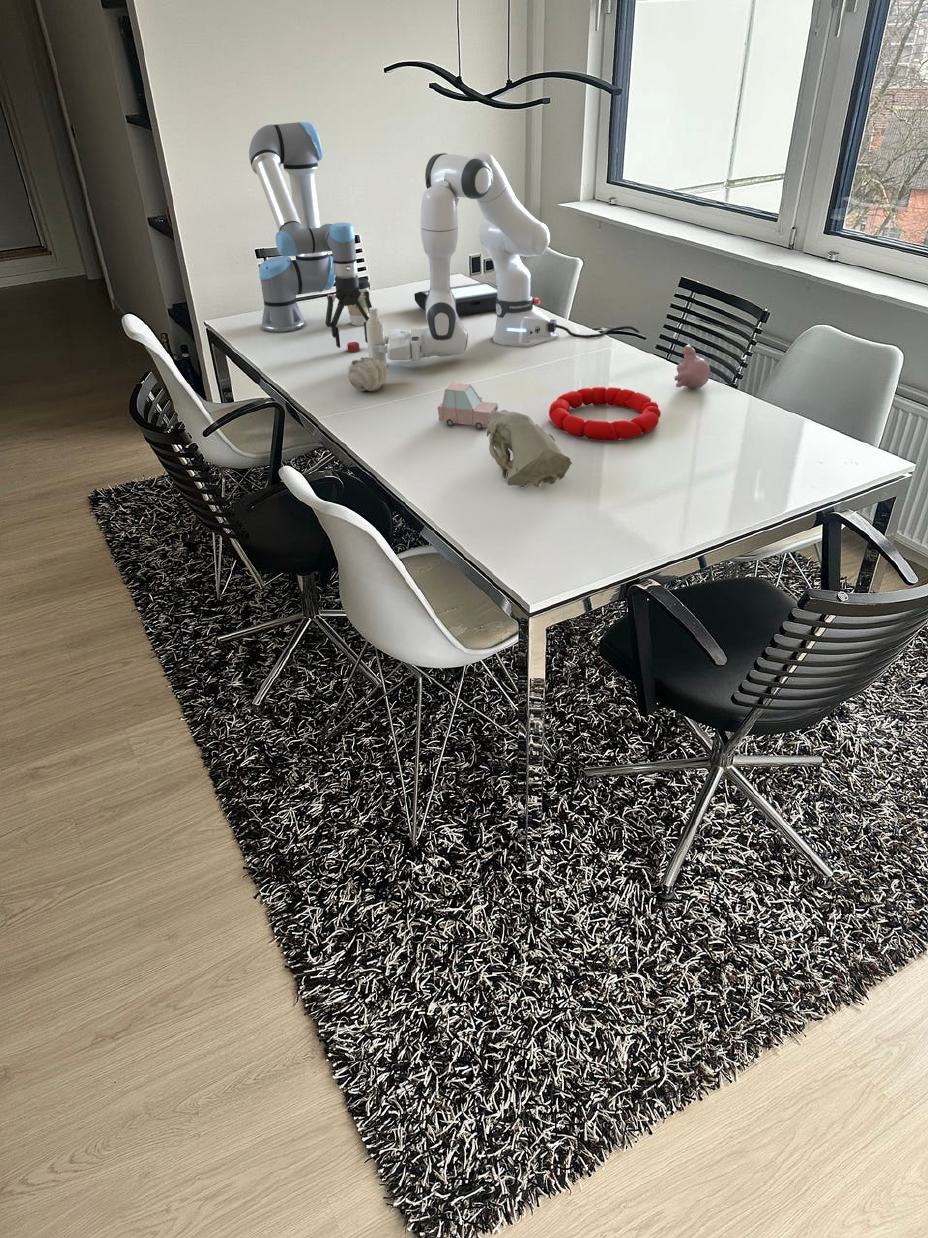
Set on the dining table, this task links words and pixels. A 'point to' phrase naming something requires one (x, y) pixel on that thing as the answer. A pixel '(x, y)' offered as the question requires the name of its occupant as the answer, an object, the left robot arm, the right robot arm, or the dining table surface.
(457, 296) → the electronic device
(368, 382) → the seashell
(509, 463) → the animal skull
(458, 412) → the toy car
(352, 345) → the cap
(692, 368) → the figurine
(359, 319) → the coffee cup
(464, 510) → the dining table surface
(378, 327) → the bottle
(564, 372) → the dining table surface
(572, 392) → the decorative ring
